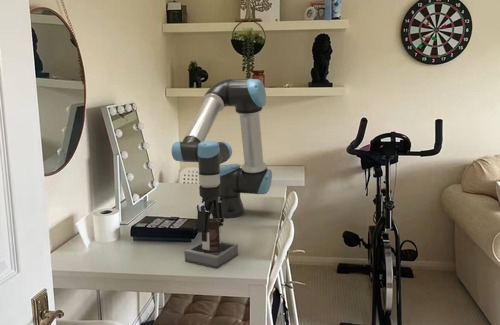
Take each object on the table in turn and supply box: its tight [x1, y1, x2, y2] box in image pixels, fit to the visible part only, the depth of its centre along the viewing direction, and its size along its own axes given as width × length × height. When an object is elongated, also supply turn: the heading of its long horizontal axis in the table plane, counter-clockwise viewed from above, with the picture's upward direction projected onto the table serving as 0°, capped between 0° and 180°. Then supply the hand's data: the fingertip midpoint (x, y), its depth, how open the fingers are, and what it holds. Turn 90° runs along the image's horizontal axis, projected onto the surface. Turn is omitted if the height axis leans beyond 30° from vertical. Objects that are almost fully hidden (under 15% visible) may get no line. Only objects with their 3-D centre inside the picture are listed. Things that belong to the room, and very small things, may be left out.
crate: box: [183, 240, 239, 269], centre depth 183 cm, size 14×14×4 cm
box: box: [204, 217, 220, 253], centre depth 182 cm, size 6×4×12 cm
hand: (211, 245), depth 182 cm, fingers closed on box, 7 cm apart
